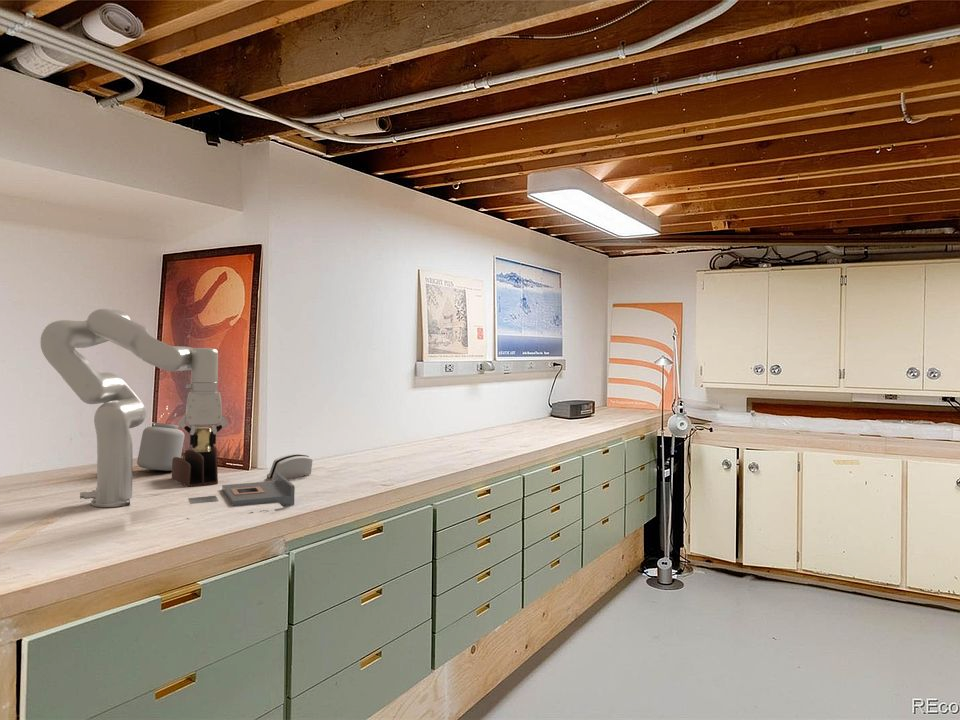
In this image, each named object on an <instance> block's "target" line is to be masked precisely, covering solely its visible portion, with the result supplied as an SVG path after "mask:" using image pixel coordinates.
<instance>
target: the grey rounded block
mask: <svg viewBox="0 0 960 720" xmlns="http://www.w3.org/2000/svg"><path fill="white" fill-rule="evenodd" d="M312 467H313V459H312V458H311V457H310V456H309V455H307V454H304V453H289V454H286V455H283V456H282V455H281V456H279V457H277V458H275V459H274V460H273V462H272V465H271V467H270V471H269V473H267V475H266V480H269V478H270V479H271V481H275V472H279V473H280V474H281V475H282V476H284V477H285V478H288V479H292V478H291V477H294V478H298V477H297V476H300V477H304V476H303V475H306V476H310V475H309V474H312Z"/></svg>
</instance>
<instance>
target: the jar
mask: <svg viewBox="0 0 960 720" xmlns="http://www.w3.org/2000/svg"><path fill="white" fill-rule="evenodd" d="M168 407H169V405H166V410H168ZM167 414H168V415H169V414H170V413H169V412H168V413H167ZM176 415H177V413H175V415H174V416H176ZM160 418H163V415H162V414H161V416H160ZM160 418H158V420H160ZM151 422H152V421H151ZM179 427H180V426H179V425H178V424H170V423H161V422H152V425H151V426H147V427H145V428H144V429H143V431H142V435H141V439H140V446H139V450H138V454H137V461H136V464H137V466H138V467H139V468H141V469H146V470H154V471H155V470H156V471H167V472H169V471H171V472H172V460H173V458H174V457H179V458H182V454H183V453H182V452H183V448H184V441H185V433H184V431H183V430H181V429H179Z"/></svg>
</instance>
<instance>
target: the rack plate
mask: <svg viewBox="0 0 960 720" xmlns="http://www.w3.org/2000/svg"><path fill="white" fill-rule="evenodd" d="M221 487H222V488H221V490H222V491H223V493H224V494H225V496H226V497H227V499H228V501H229V502H230V504H231V506H232V507H238V506H239V507H241V506H250V505H260V504H261V505H262V504H268V503H269V504H271V503H279V505H280V506H281V507H287V506H294V505H295V488H296V487H295V485H294V484H293V483H292V482H291V481H290V480H288V479H286V478H285V477H284V476H282V475H281V474H280V473H279V472H275V481H272V480H271V481H256V482H244V483H234V484H231V483H230V484H222V485H221Z"/></svg>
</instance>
